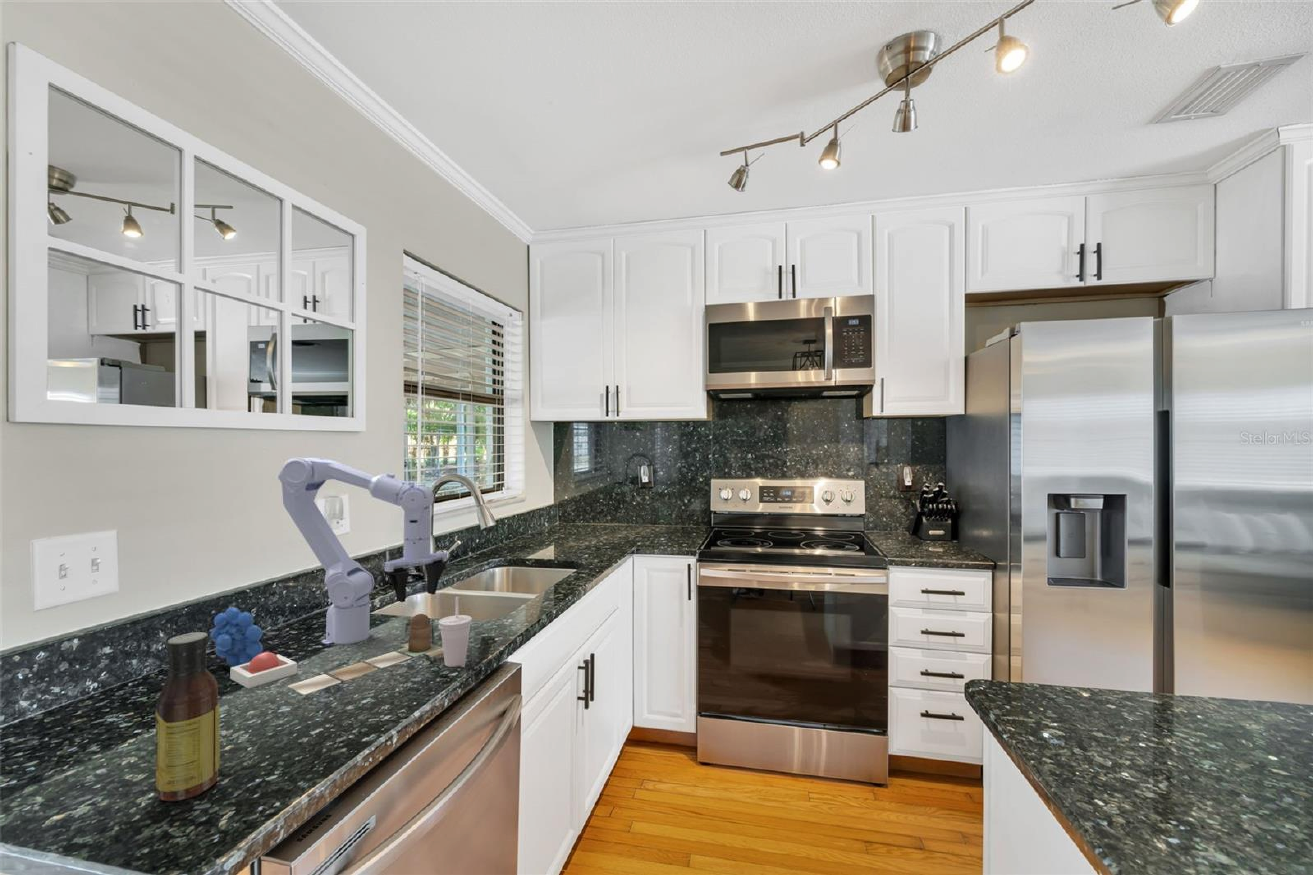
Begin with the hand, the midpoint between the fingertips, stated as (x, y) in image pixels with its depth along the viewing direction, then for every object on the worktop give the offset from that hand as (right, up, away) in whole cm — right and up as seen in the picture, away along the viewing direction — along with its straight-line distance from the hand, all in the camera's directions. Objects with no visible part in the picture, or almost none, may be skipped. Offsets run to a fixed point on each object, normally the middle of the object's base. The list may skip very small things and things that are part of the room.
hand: (416, 597), depth 126 cm
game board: (-2, -10, -17) cm, 20 cm away
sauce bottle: (-5, -9, -55) cm, 56 cm away
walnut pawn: (+4, -9, -8) cm, 13 cm away
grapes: (-30, -10, -16) cm, 35 cm away
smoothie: (+15, -10, -16) cm, 24 cm away
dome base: (-19, -9, -22) cm, 31 cm away
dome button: (-19, -9, -22) cm, 31 cm away
